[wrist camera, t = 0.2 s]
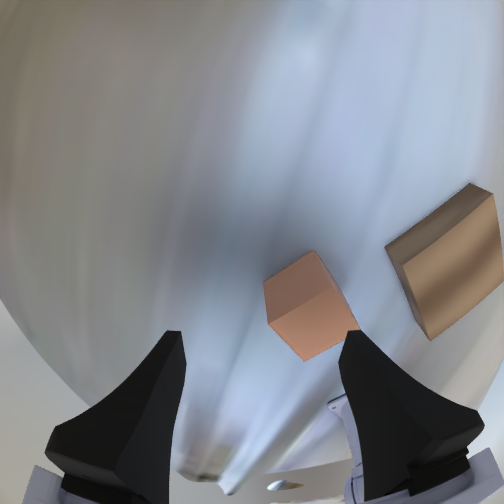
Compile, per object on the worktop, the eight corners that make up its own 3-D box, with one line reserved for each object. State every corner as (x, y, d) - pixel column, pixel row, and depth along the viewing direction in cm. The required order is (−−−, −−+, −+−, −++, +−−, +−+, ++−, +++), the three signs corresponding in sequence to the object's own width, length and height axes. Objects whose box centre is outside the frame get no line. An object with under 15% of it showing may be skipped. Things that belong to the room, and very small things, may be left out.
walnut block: (484, 263, 22) (503, 280, 19) (414, 318, 25) (429, 341, 21) (466, 181, 19) (493, 193, 15) (382, 244, 21) (402, 265, 18)
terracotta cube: (340, 289, 22) (360, 329, 18) (294, 318, 23) (304, 361, 19) (313, 249, 21) (332, 285, 16) (263, 281, 22) (268, 324, 17)
